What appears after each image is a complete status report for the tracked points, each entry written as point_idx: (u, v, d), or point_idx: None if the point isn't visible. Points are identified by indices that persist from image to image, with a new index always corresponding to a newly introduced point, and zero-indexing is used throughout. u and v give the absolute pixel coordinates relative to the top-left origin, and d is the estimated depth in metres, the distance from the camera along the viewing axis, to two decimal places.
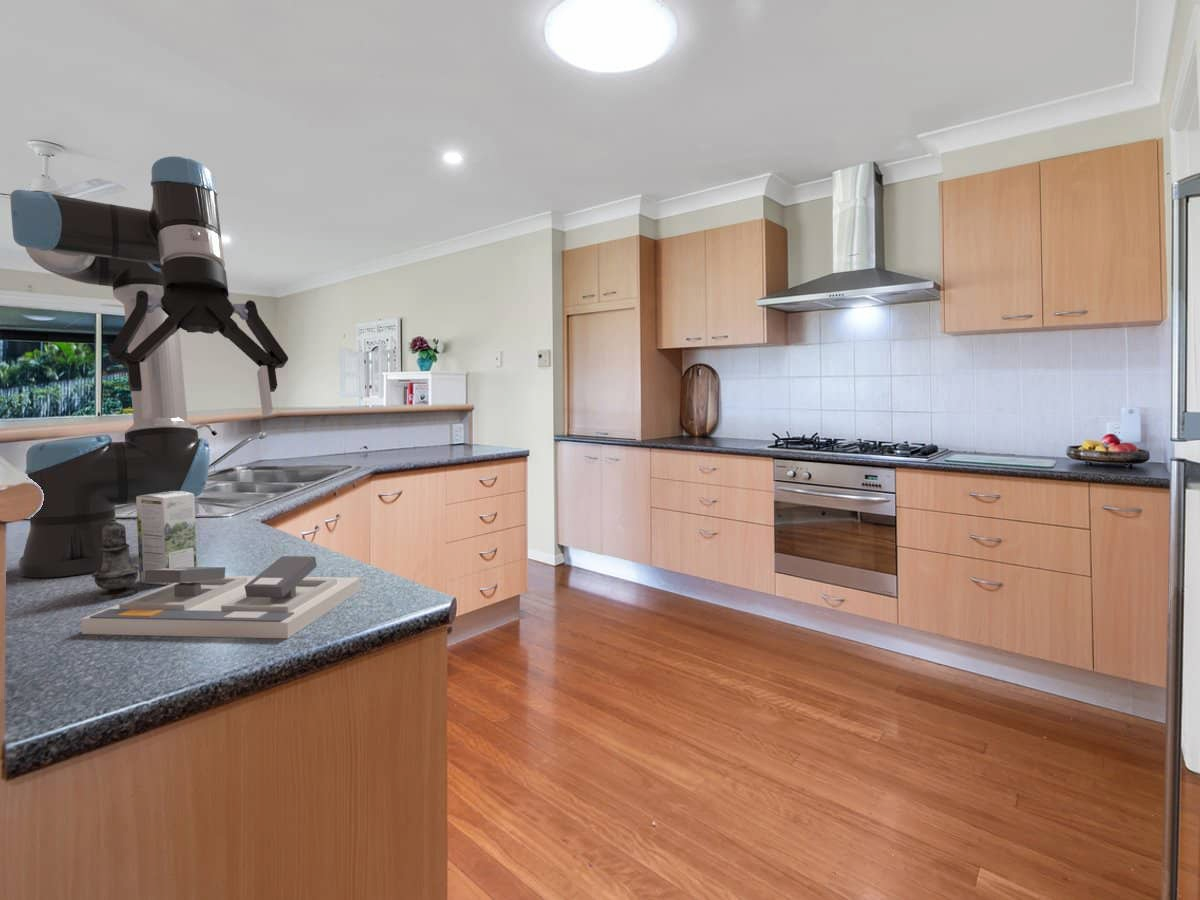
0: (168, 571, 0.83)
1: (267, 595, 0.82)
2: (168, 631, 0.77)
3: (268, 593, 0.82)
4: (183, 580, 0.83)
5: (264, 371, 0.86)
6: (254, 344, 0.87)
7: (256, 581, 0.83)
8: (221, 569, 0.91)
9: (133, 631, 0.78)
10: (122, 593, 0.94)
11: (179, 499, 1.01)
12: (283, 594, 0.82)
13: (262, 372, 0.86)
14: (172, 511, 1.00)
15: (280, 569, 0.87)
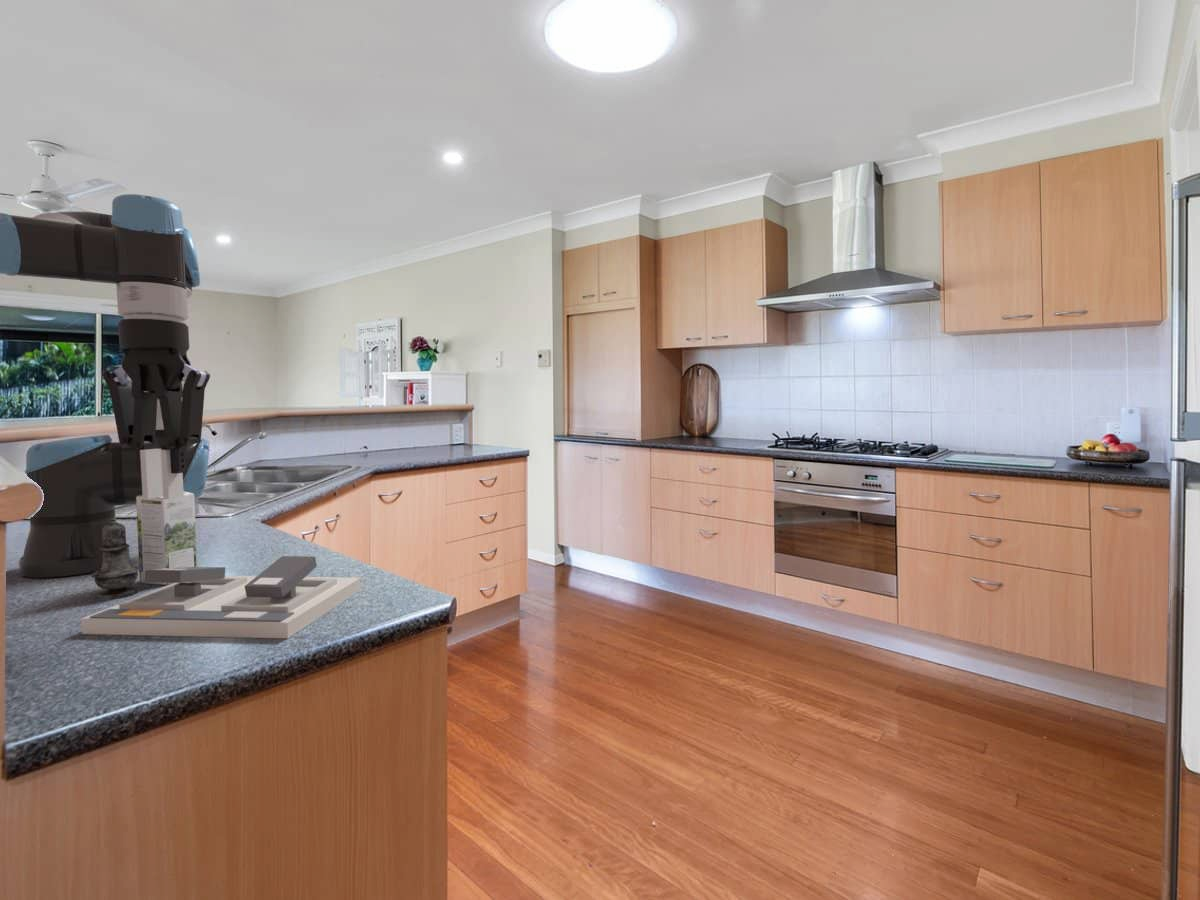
0: (168, 571, 0.83)
1: (267, 595, 0.82)
2: (168, 631, 0.77)
3: (268, 593, 0.82)
4: (183, 580, 0.83)
5: (163, 456, 0.81)
6: (169, 421, 0.81)
7: (256, 581, 0.83)
8: (221, 569, 0.91)
9: (133, 631, 0.78)
10: (122, 593, 0.94)
11: (179, 499, 1.01)
12: (283, 594, 0.82)
13: (162, 457, 0.81)
14: (172, 511, 1.00)
15: (280, 569, 0.87)
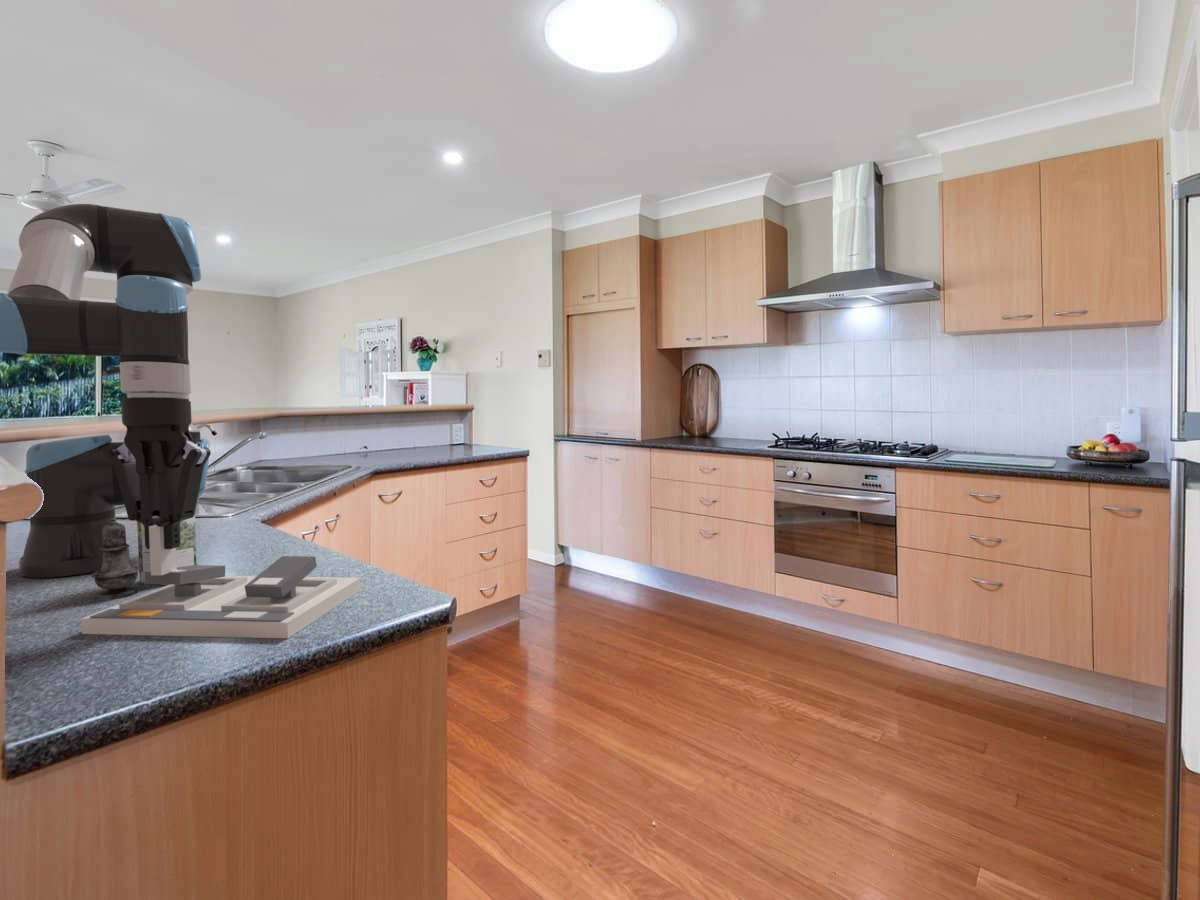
0: (168, 573, 0.83)
1: (267, 595, 0.82)
2: (168, 631, 0.77)
3: (268, 593, 0.82)
4: (183, 582, 0.83)
5: (156, 533, 0.81)
6: (165, 498, 0.81)
7: (256, 581, 0.83)
8: (221, 568, 0.91)
9: (133, 631, 0.78)
10: (122, 593, 0.94)
11: None
12: (283, 594, 0.82)
13: (155, 533, 0.82)
14: None
15: (280, 569, 0.87)
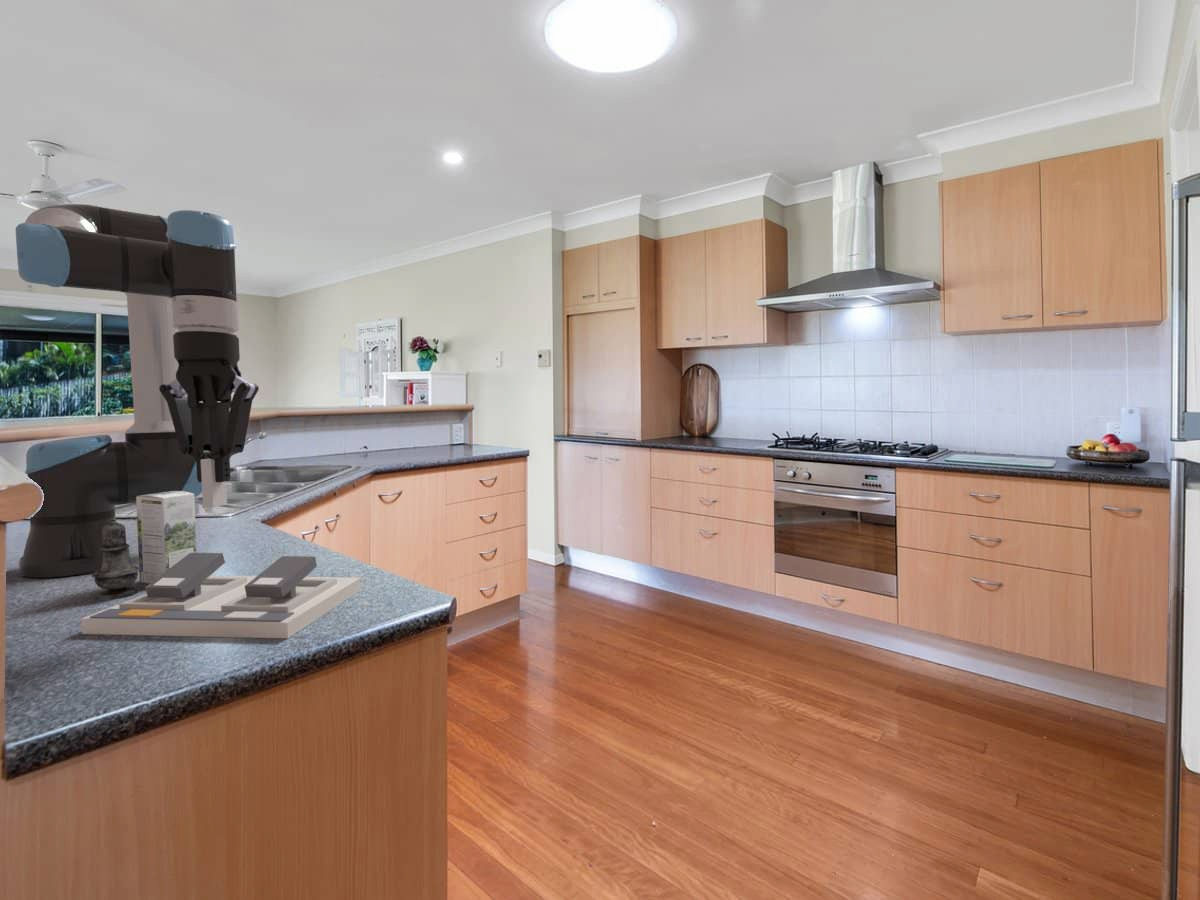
0: (168, 588, 0.83)
1: (267, 595, 0.82)
2: (168, 631, 0.77)
3: (268, 593, 0.82)
4: (186, 593, 0.84)
5: (208, 465, 0.83)
6: (216, 431, 0.83)
7: (256, 581, 0.83)
8: (219, 557, 0.90)
9: (133, 631, 0.78)
10: (122, 593, 0.94)
11: (180, 499, 1.01)
12: (283, 594, 0.82)
13: (206, 466, 0.83)
14: (172, 511, 1.00)
15: (280, 569, 0.87)
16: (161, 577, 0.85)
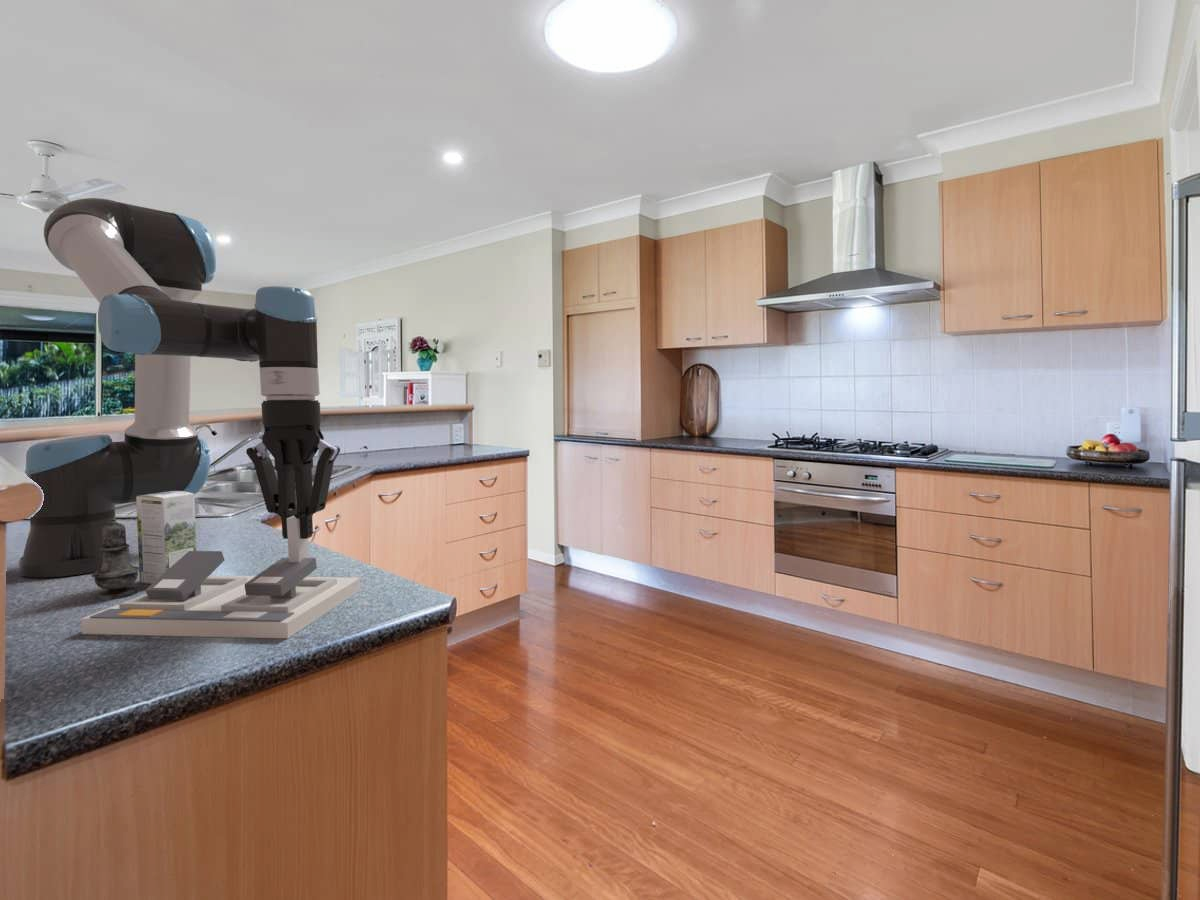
0: (168, 591, 0.83)
1: (266, 593, 0.82)
2: (168, 631, 0.77)
3: (268, 591, 0.82)
4: (187, 595, 0.84)
5: (294, 524, 0.89)
6: (301, 492, 0.88)
7: (256, 580, 0.83)
8: (218, 556, 0.90)
9: (133, 631, 0.78)
10: (122, 593, 0.94)
11: (180, 499, 1.01)
12: (283, 593, 0.82)
13: (292, 525, 0.89)
14: (172, 511, 1.00)
15: (280, 569, 0.87)
16: (161, 578, 0.85)
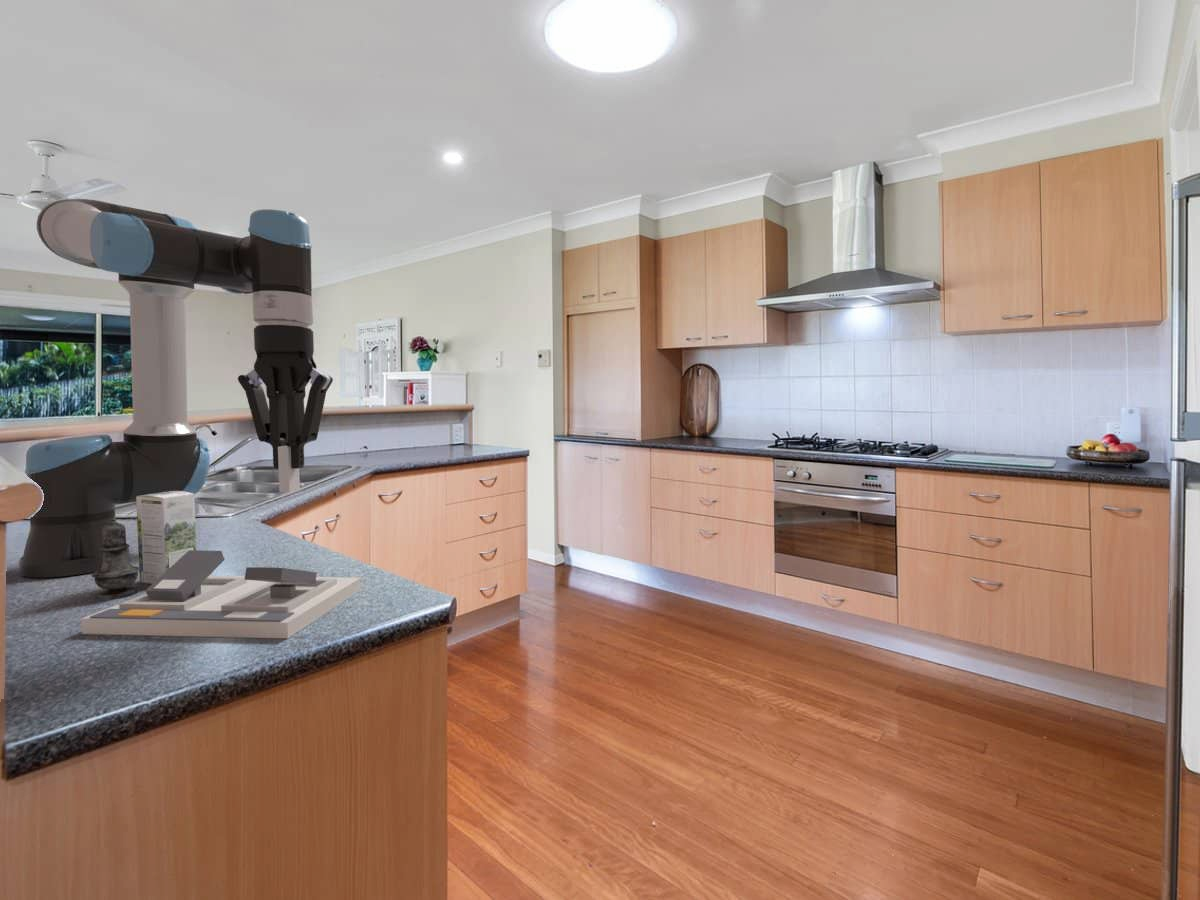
0: (168, 591, 0.83)
1: (265, 578, 0.82)
2: (168, 631, 0.77)
3: (268, 575, 0.82)
4: (187, 595, 0.84)
5: (285, 453, 0.88)
6: (293, 420, 0.87)
7: None
8: (218, 555, 0.90)
9: (133, 631, 0.78)
10: (122, 593, 0.94)
11: (180, 499, 1.01)
12: (282, 578, 0.82)
13: (283, 453, 0.88)
14: (172, 511, 1.00)
15: None
16: (161, 579, 0.85)
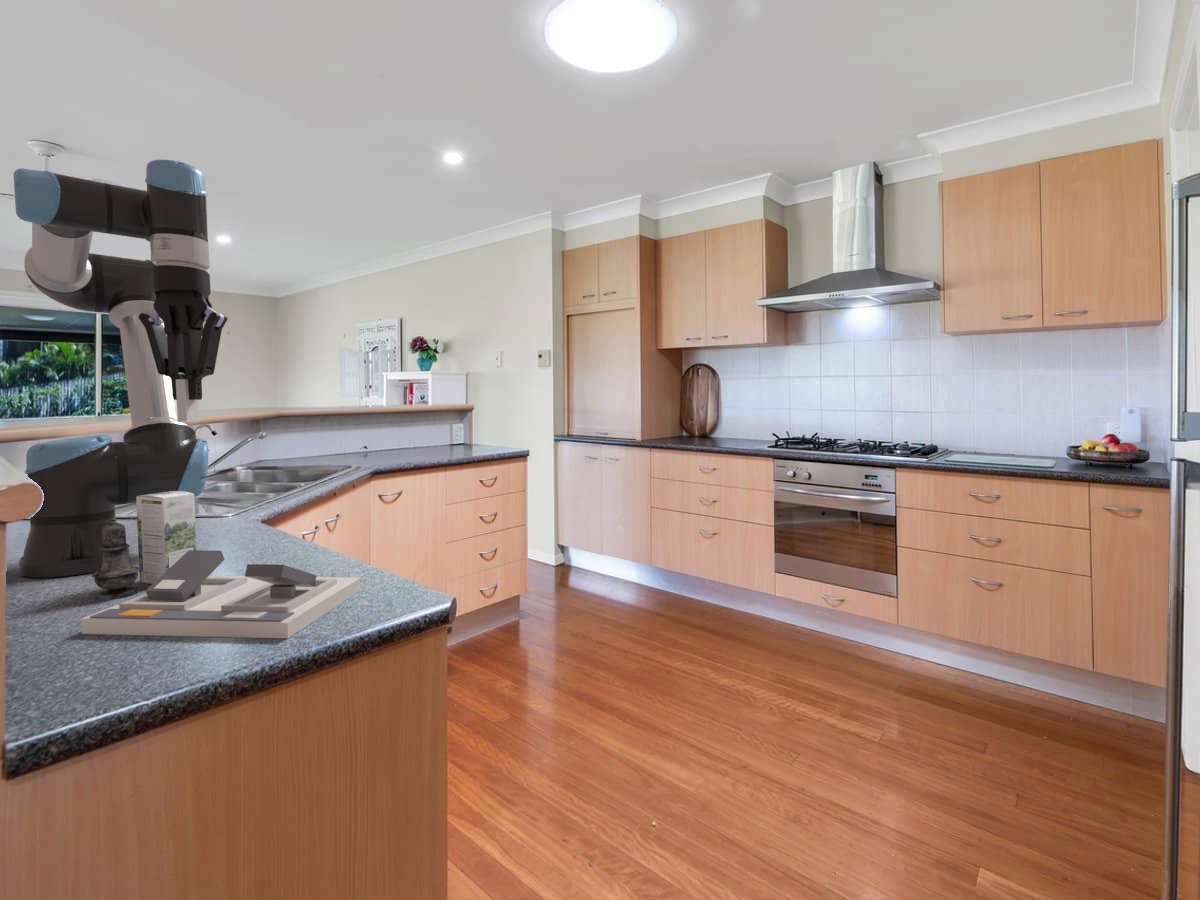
0: (168, 592, 0.83)
1: (265, 574, 0.82)
2: (168, 631, 0.77)
3: (268, 572, 0.82)
4: (187, 595, 0.84)
5: (182, 384, 0.96)
6: (189, 355, 0.95)
7: None
8: (218, 555, 0.90)
9: (133, 631, 0.78)
10: (122, 593, 0.94)
11: (180, 499, 1.01)
12: (282, 575, 0.82)
13: (181, 385, 0.96)
14: (172, 511, 1.00)
15: None
16: (161, 579, 0.85)
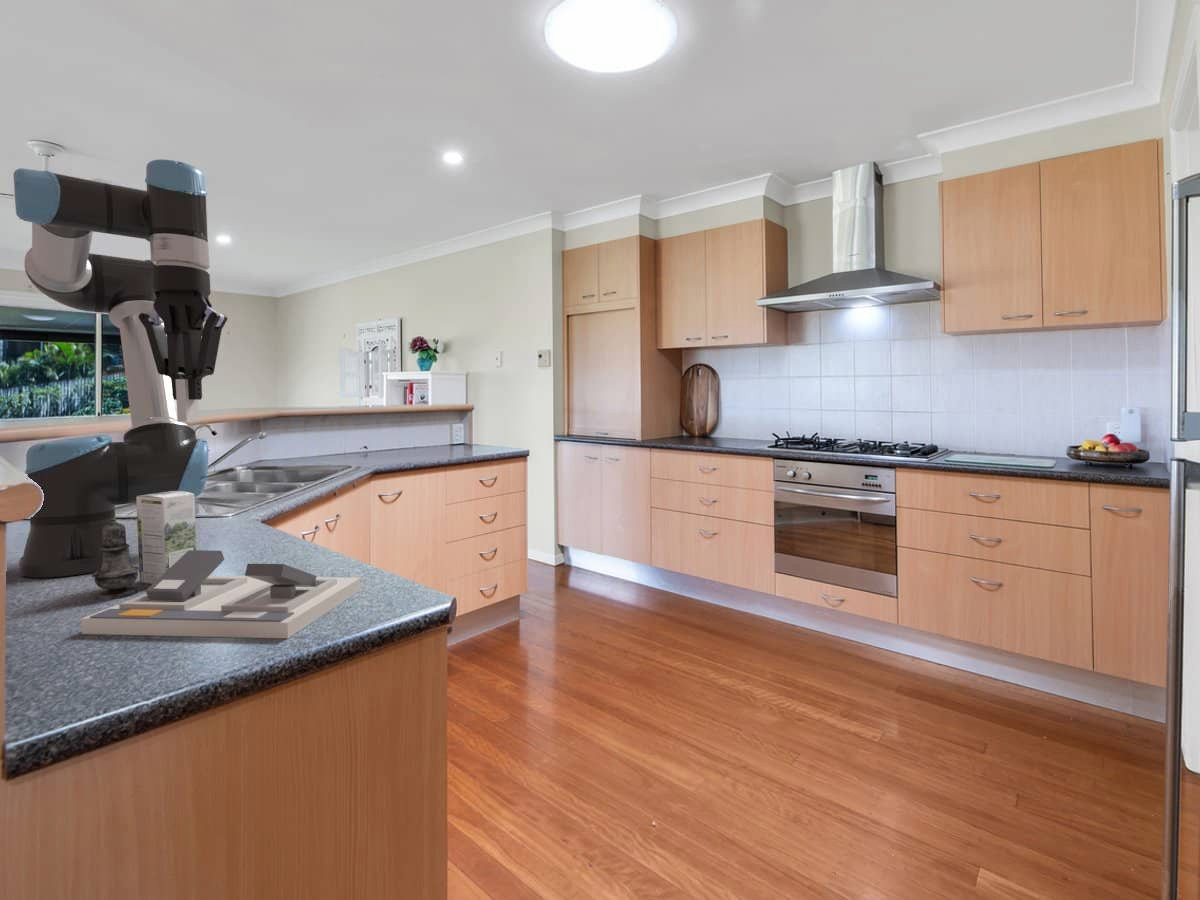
0: (168, 592, 0.83)
1: (266, 574, 0.82)
2: (168, 631, 0.77)
3: (268, 571, 0.82)
4: (187, 595, 0.84)
5: (182, 384, 0.96)
6: (189, 354, 0.95)
7: None
8: (218, 555, 0.90)
9: (133, 631, 0.78)
10: (122, 593, 0.94)
11: (180, 499, 1.01)
12: (282, 574, 0.82)
13: (181, 385, 0.96)
14: (172, 511, 1.00)
15: None
16: (161, 579, 0.85)
